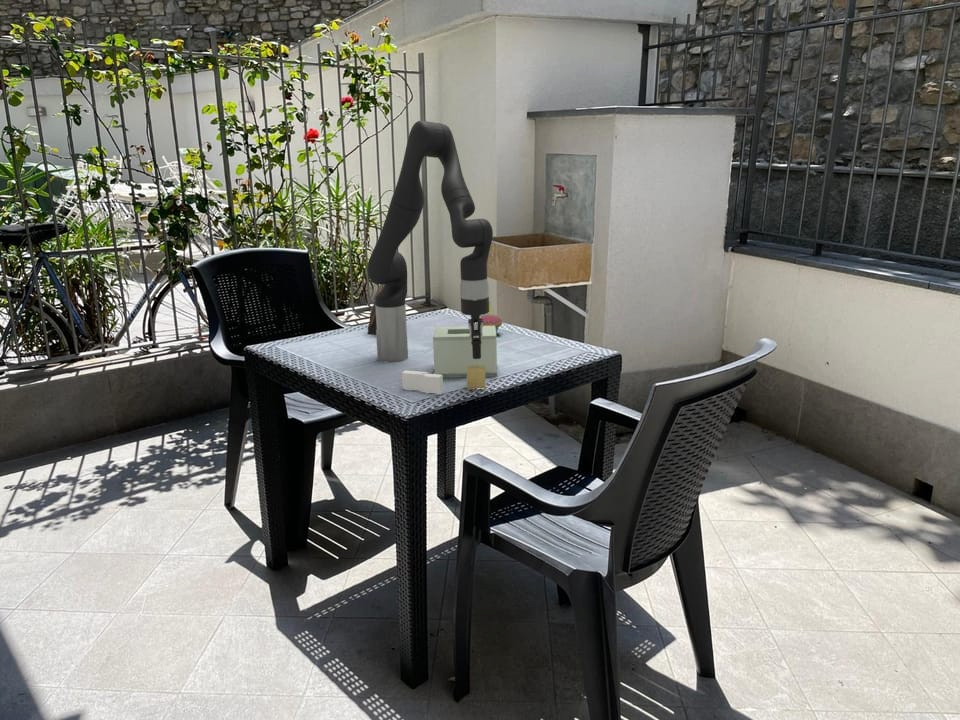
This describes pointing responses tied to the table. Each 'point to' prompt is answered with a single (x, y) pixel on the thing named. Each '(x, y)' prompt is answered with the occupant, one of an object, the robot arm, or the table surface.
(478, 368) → the tan brushed block
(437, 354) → the box
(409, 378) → the napkin holder
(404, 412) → the table surface
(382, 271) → the robot arm
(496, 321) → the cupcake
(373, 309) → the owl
